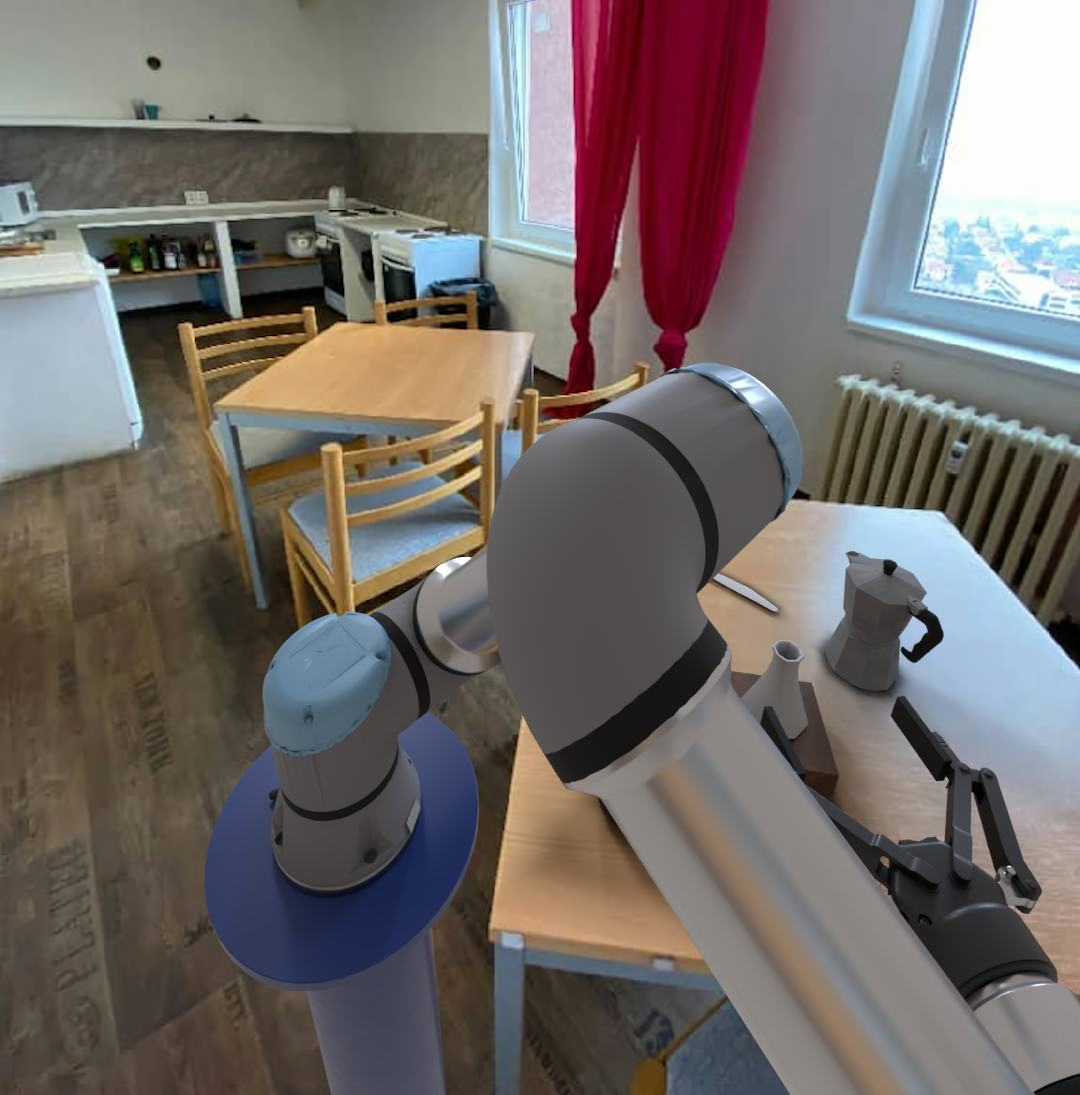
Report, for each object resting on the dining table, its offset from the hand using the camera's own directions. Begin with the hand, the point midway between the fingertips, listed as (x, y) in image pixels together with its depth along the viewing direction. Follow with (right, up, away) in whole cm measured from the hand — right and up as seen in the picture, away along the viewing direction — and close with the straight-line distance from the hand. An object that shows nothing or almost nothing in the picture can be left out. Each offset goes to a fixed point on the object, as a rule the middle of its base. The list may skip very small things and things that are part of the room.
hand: (831, 710), depth 59 cm
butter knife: (-1, 0, +43) cm, 43 cm away
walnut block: (-1, -12, +14) cm, 19 cm away
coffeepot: (+17, -9, +25) cm, 31 cm away
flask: (-1, -8, +13) cm, 15 cm away
